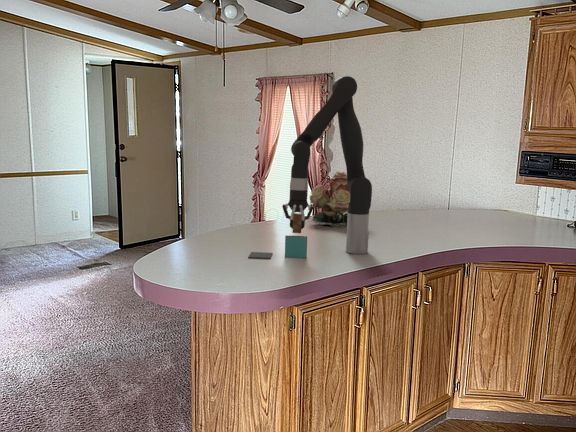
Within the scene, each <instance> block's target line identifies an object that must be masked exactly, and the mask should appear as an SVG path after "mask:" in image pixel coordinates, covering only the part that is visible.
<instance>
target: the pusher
mask: <svg viewBox="0 0 576 432" xmlns="http://www.w3.org/2000/svg"><path fill="white" fill-rule="evenodd" d="M301 223H302V215H301V213H299V212H295V213H294V214H293V229H292V233H293V234H302V229H301Z"/></svg>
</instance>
